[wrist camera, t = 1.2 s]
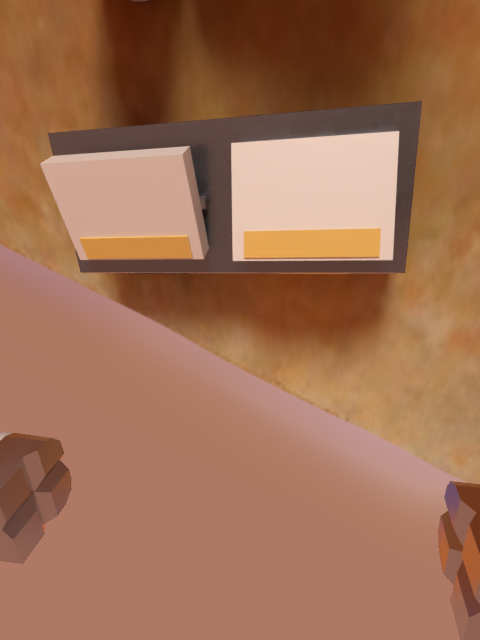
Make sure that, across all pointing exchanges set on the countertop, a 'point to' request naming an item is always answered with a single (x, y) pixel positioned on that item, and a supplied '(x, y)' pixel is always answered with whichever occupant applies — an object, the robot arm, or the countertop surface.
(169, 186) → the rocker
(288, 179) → the rocker
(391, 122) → the panel
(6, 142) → the countertop surface
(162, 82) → the countertop surface
